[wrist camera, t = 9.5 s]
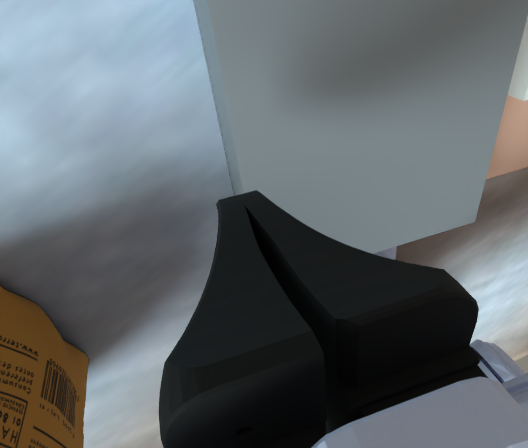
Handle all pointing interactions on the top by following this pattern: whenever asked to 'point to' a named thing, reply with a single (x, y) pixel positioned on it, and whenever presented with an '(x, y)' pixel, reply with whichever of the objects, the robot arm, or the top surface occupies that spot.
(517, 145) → the mat
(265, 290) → the robot arm
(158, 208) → the top surface
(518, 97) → the cream rectangular block
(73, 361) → the coffee package
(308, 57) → the grey flat block
